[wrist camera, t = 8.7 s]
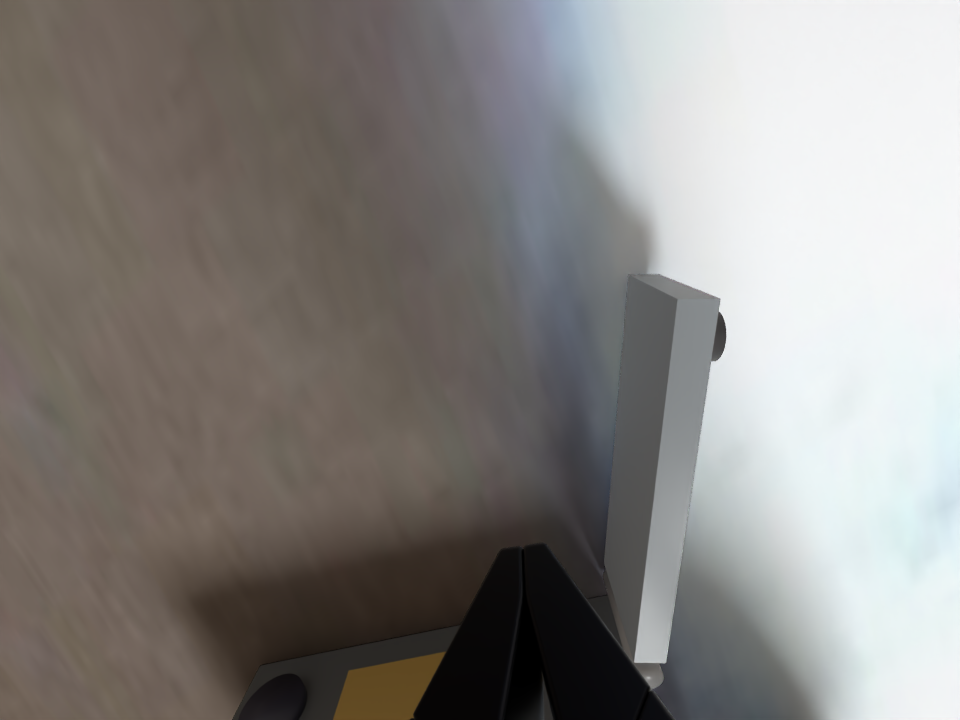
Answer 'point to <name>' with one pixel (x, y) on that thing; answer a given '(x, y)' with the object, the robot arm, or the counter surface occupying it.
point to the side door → (656, 456)
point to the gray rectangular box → (362, 679)
